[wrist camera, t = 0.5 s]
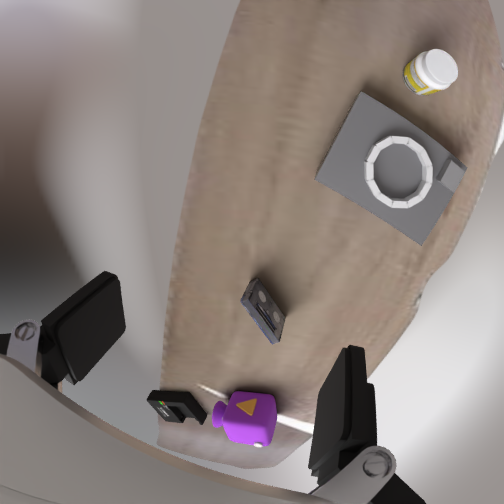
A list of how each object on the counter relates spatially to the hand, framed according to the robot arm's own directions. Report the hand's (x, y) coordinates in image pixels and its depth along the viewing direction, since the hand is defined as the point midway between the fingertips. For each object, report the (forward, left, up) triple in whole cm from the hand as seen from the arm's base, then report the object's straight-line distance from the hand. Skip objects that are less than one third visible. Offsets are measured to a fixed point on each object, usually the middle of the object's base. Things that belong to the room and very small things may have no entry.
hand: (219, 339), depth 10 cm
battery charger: (+59, 0, -29) cm, 66 cm away
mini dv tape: (+17, +4, -29) cm, 33 cm away
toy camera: (+44, +13, -29) cm, 54 cm away
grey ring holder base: (-9, +9, -28) cm, 31 cm away
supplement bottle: (-22, +7, -29) cm, 37 cm away
